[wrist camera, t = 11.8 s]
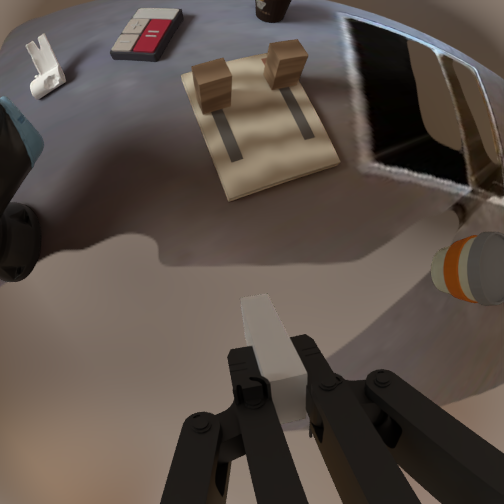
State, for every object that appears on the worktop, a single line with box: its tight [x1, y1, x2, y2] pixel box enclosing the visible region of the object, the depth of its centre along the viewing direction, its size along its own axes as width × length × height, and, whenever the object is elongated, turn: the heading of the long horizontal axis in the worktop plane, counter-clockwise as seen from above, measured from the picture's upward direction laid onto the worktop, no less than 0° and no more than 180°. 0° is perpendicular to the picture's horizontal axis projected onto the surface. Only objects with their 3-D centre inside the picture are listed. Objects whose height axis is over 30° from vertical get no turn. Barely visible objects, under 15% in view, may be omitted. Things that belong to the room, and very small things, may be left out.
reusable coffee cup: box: [431, 232, 504, 306], centre depth 43 cm, size 13×13×15 cm
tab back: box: [263, 39, 308, 90], centre depth 43 cm, size 4×5×9 cm
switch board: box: [181, 53, 340, 202], centre depth 47 cm, size 26×20×2 cm
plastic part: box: [26, 33, 66, 100], centre depth 40 cm, size 8×10×12 cm
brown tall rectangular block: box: [191, 58, 232, 115], centre depth 41 cm, size 4×5×9 cm
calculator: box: [110, 8, 183, 62], centre depth 46 cm, size 11×4×15 cm
